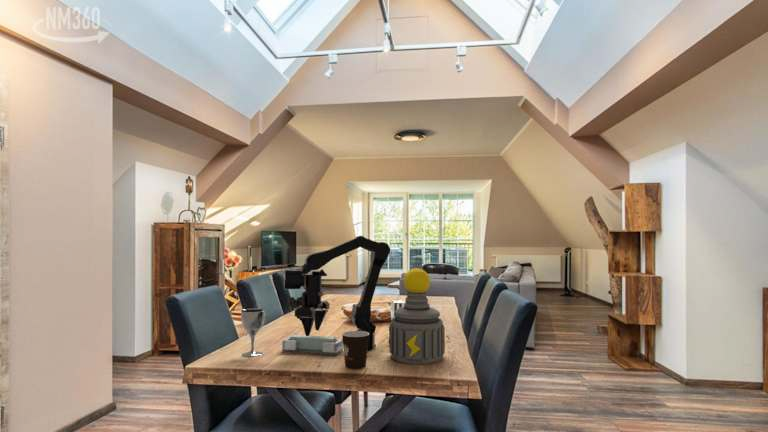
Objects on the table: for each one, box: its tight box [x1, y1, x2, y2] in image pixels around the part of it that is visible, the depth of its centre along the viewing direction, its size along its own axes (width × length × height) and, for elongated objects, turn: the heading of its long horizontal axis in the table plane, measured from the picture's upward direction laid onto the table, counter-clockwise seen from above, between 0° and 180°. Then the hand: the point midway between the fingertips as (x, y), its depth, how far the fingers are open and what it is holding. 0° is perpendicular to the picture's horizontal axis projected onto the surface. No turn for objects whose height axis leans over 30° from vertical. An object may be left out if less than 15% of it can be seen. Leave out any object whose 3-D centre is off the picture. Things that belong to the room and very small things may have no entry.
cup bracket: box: [281, 336, 344, 357], centre depth 150 cm, size 20×7×4 cm, turn 78°
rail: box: [289, 334, 337, 350], centre depth 150 cm, size 16×3×4 cm, turn 77°
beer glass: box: [390, 299, 406, 320], centre depth 168 cm, size 7×7×15 cm
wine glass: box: [240, 307, 266, 358], centre depth 146 cm, size 8×8×15 cm
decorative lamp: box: [388, 267, 446, 365], centre depth 144 cm, size 19×19×30 cm
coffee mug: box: [341, 330, 369, 370], centre depth 134 cm, size 12×9×10 cm
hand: (312, 333), depth 150 cm, fingers open, 9 cm apart
